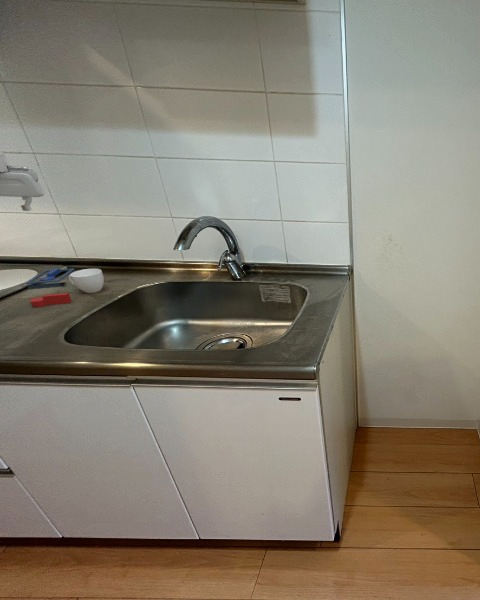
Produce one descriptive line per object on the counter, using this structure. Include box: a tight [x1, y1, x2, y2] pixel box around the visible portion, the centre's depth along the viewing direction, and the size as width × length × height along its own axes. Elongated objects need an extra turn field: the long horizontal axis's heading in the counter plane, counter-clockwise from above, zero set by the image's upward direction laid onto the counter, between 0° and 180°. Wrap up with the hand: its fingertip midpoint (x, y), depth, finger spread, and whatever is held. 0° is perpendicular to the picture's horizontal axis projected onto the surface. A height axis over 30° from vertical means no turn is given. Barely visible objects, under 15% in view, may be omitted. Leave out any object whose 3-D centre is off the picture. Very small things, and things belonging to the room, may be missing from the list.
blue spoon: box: [40, 267, 62, 281], centre depth 110 cm, size 9×3×3 cm, turn 25°
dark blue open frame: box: [25, 268, 75, 290], centre depth 110 cm, size 12×8×2 cm
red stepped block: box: [29, 292, 73, 308], centre depth 96 cm, size 9×3×3 cm, turn 115°
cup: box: [68, 268, 105, 294], centre depth 105 cm, size 8×10×7 cm
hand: (7, 210), depth 101 cm, fingers open, 8 cm apart
